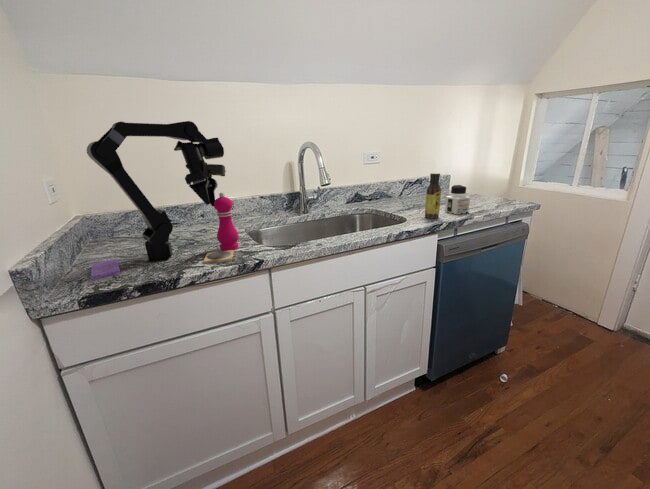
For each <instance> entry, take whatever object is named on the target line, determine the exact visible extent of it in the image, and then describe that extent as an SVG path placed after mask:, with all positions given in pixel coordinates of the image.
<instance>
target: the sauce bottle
mask: <svg viewBox="0 0 650 489" xmlns="http://www.w3.org/2000/svg"><path fill="white" fill-rule="evenodd" d="M429 176H430V182H429V184H428V186H427V188H426V194H425V195H426V196H425V207H424V217H425V218H428V219H436V218H439V214H440V208H441V196H442V188H441V186H440V177H441V173H439V172H431V173H430V175H429Z"/></svg>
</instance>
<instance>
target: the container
mask: <svg viewBox="0 0 650 489" xmlns="http://www.w3.org/2000/svg"><path fill="white" fill-rule="evenodd" d="M466 194H467V186H466V185H463V184H455V185H452V186H451V191H450V195H447V196H445V207H444V212H445V213H448V212H449V214H452V213H454V214H453V215H461V213H463V214H466V212H468V213H469V210H470V204H471V201H470V200H471V197H470V196H467V195H466Z"/></svg>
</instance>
